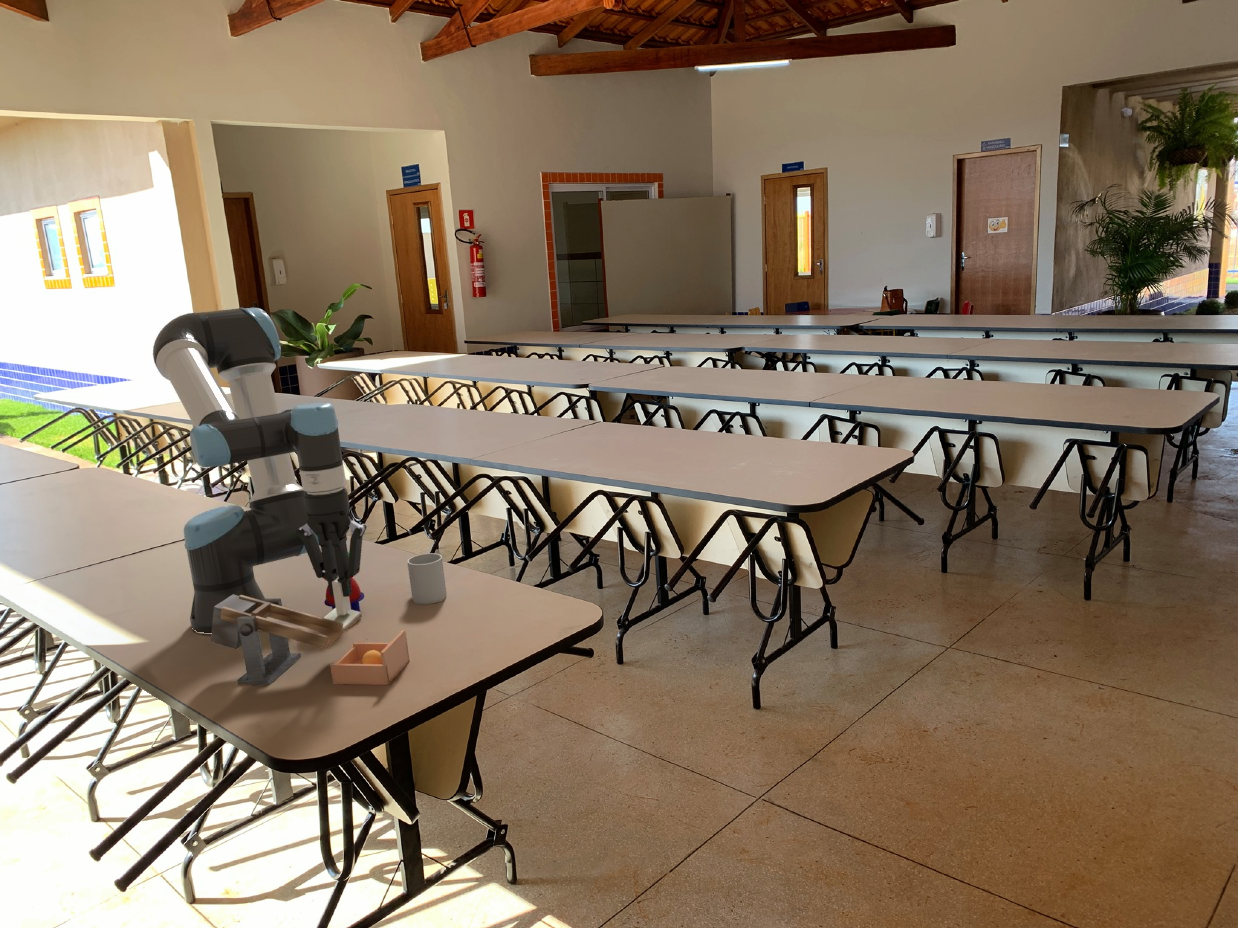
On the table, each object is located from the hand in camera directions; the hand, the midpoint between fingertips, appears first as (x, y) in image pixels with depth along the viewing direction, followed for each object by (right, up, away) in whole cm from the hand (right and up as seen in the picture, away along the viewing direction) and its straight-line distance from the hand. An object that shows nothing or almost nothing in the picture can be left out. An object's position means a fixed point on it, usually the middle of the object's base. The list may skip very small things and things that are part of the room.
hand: (344, 612), depth 168 cm
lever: (-10, -5, -2) cm, 11 cm away
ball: (+8, -7, -8) cm, 13 cm away
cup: (+10, -1, +26) cm, 28 cm away
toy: (-6, -4, +19) cm, 21 cm away
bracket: (-12, -10, -4) cm, 16 cm away
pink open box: (+7, -9, -8) cm, 14 cm away
